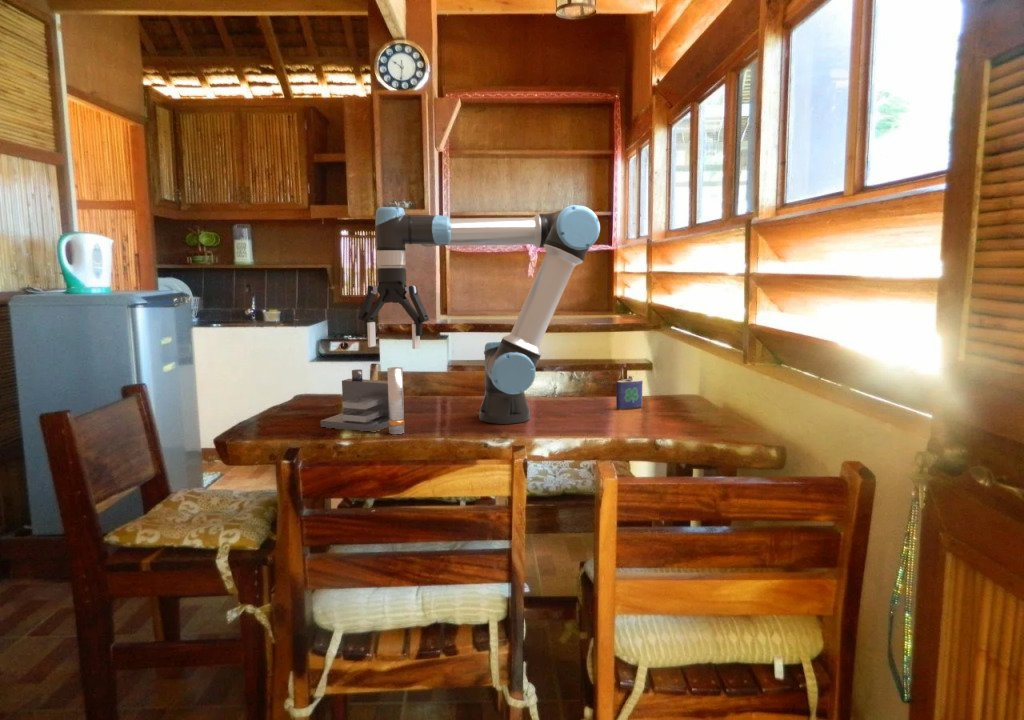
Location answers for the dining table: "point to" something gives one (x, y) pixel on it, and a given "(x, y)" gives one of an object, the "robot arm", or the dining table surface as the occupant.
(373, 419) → the grey slotted rack
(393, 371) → the tube
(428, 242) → the robot arm
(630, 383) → the flask
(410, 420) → the dining table surface
